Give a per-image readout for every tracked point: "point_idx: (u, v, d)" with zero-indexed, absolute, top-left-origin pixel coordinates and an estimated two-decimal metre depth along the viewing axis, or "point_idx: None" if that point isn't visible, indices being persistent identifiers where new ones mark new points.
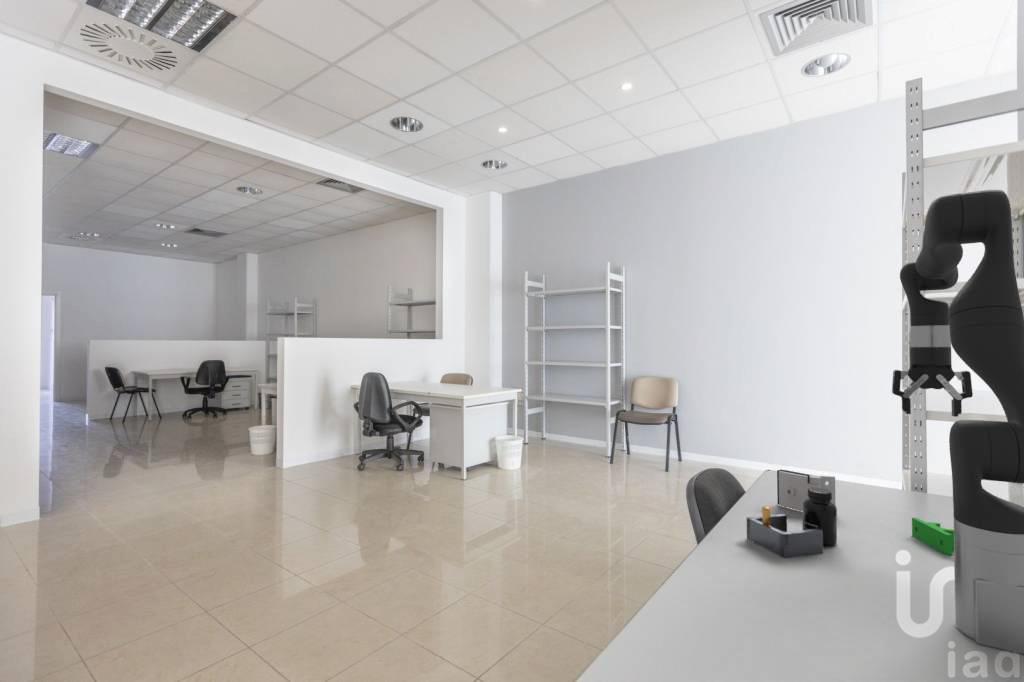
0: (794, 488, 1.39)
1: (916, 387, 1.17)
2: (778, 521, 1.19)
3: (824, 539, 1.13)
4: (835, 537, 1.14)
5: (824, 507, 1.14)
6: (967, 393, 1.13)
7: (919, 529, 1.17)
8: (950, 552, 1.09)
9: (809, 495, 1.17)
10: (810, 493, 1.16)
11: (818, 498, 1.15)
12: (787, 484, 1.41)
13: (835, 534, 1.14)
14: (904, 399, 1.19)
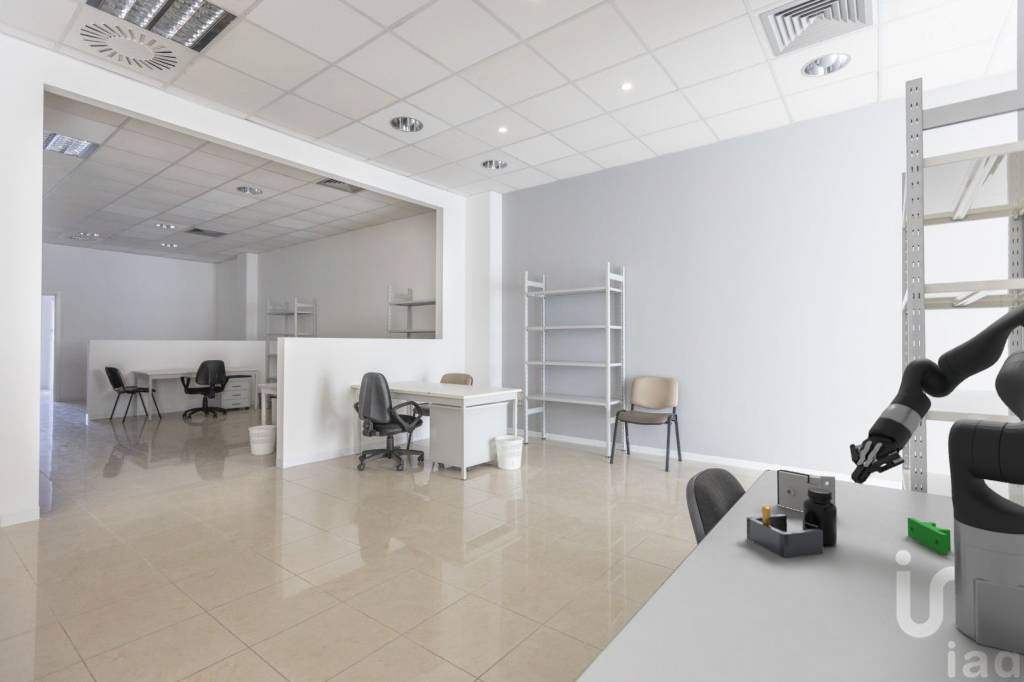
0: (794, 488, 1.39)
1: None
2: (778, 521, 1.19)
3: (824, 539, 1.13)
4: (835, 537, 1.14)
5: (824, 507, 1.14)
6: None
7: (915, 529, 1.18)
8: (945, 552, 1.09)
9: (809, 495, 1.17)
10: (810, 493, 1.16)
11: (818, 498, 1.15)
12: (787, 484, 1.41)
13: (835, 534, 1.14)
14: None
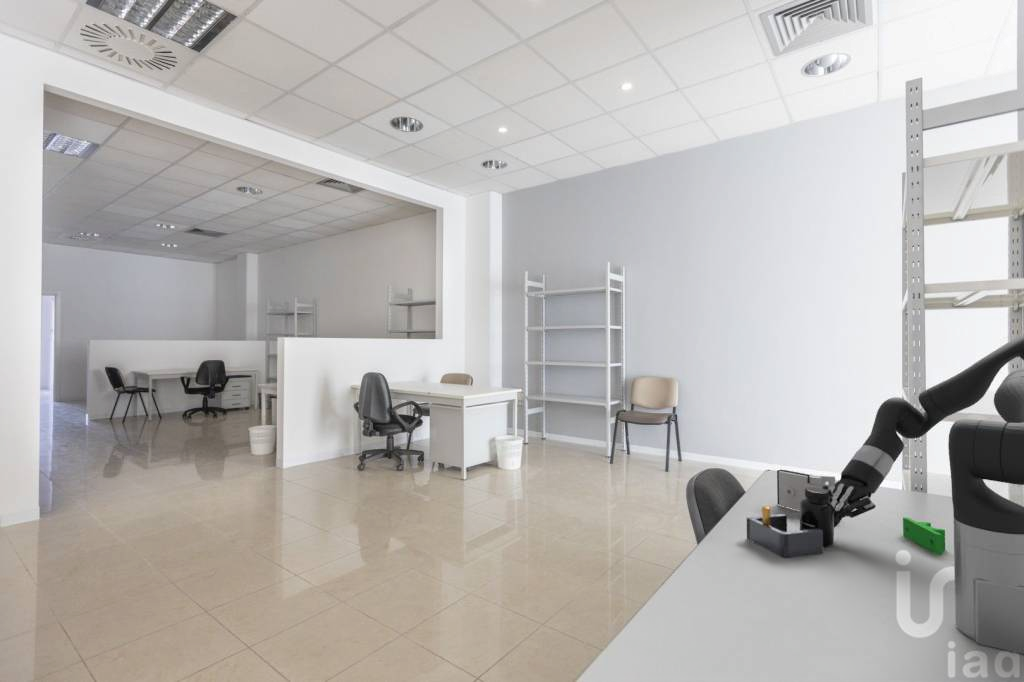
0: (794, 488, 1.39)
1: None
2: (778, 521, 1.19)
3: None
4: (832, 537, 1.14)
5: (821, 507, 1.14)
6: None
7: (910, 529, 1.18)
8: (940, 551, 1.09)
9: (806, 495, 1.17)
10: (807, 493, 1.16)
11: (815, 498, 1.15)
12: (787, 484, 1.41)
13: (832, 534, 1.14)
14: None
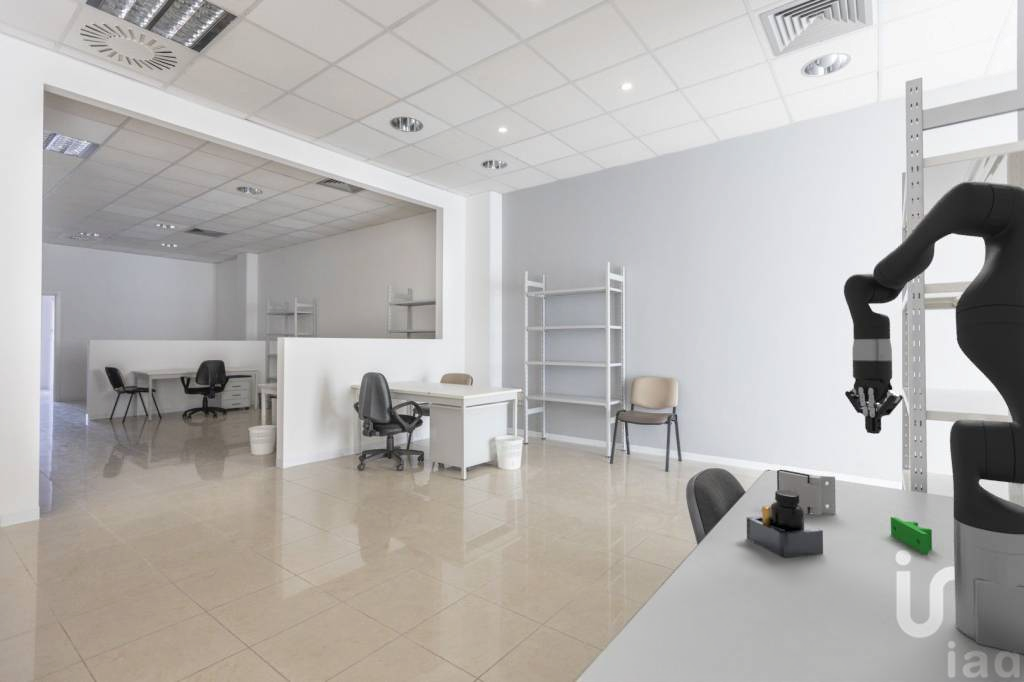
0: (794, 488, 1.39)
1: None
2: None
3: None
4: None
5: (791, 511, 1.11)
6: None
7: (897, 528, 1.18)
8: (926, 551, 1.09)
9: (776, 498, 1.14)
10: (778, 497, 1.14)
11: (785, 501, 1.12)
12: (787, 484, 1.41)
13: None
14: None
